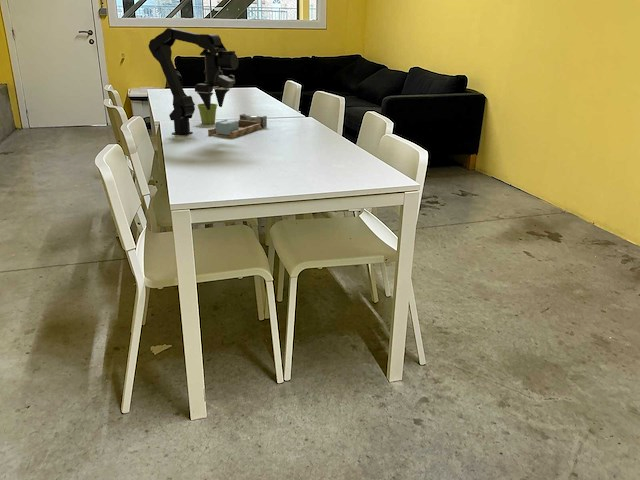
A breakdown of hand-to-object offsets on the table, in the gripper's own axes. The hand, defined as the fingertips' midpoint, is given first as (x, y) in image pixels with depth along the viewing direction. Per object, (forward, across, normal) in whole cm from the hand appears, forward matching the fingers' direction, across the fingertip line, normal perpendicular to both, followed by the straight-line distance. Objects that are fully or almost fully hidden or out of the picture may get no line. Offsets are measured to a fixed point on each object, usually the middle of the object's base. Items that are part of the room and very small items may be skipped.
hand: (214, 108), depth 215 cm
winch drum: (+12, +31, -1) cm, 33 cm away
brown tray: (+12, +15, 0) cm, 19 cm away
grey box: (+11, +9, 0) cm, 14 cm away
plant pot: (+12, +28, +21) cm, 37 cm away
